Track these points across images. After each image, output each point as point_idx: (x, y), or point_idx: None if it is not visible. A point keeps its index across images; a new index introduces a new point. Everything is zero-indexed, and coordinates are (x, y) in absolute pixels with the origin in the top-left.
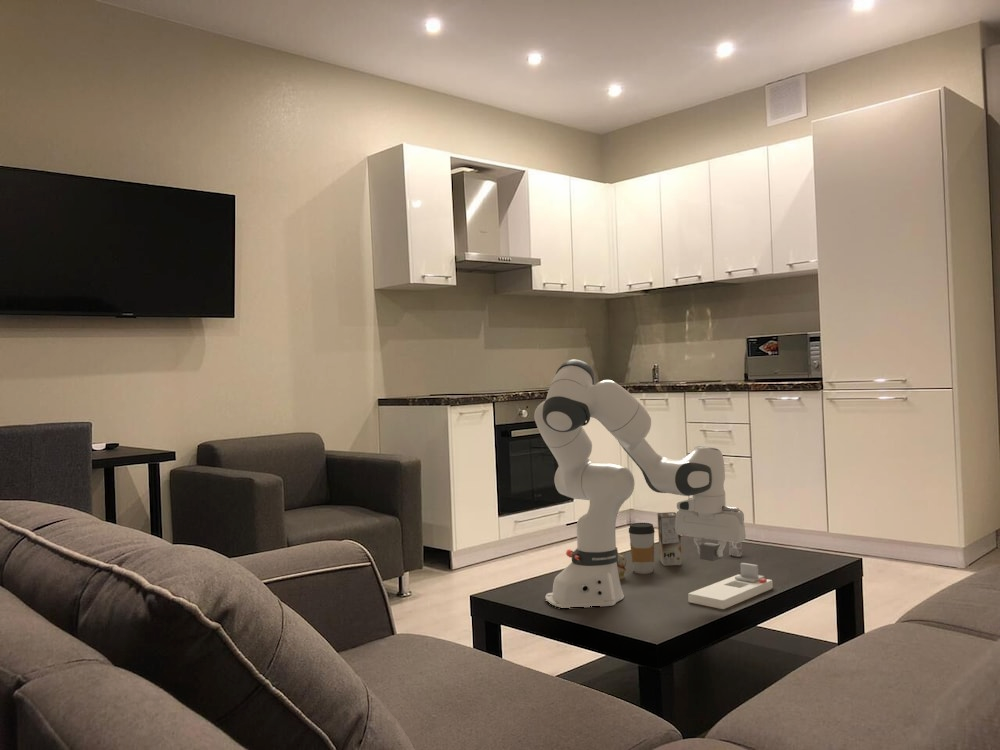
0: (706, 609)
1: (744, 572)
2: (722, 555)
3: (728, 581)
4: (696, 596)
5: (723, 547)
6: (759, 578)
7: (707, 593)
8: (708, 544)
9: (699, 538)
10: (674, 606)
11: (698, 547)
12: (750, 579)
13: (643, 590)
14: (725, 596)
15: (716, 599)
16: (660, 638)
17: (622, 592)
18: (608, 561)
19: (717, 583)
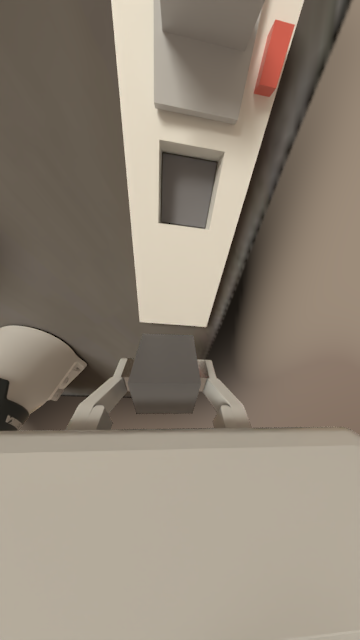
0: (183, 328)
1: (185, 13)
2: (210, 361)
3: (149, 163)
4: (157, 322)
5: (225, 392)
6: (257, 26)
7: (166, 307)
8: (159, 402)
9: (105, 428)
10: (141, 336)
11: (122, 391)
12: (224, 109)
13: (32, 294)
14: (202, 308)
15: (194, 325)
16: None
17: (53, 344)
18: (24, 417)
19: (137, 216)
